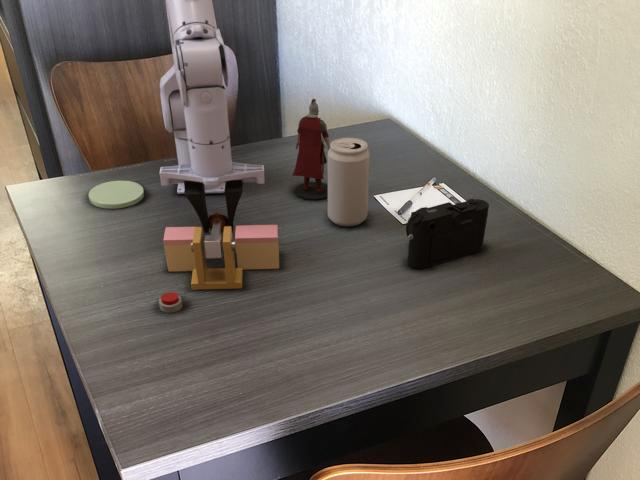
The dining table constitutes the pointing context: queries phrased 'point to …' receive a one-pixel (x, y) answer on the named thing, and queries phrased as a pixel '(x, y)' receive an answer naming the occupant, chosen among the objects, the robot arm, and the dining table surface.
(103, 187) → the plate
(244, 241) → the cake
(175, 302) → the push button
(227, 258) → the stand
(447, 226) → the camera
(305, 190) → the figurine
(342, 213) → the beverage can
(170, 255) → the cake slice
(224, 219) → the cutter
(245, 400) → the dining table surface
